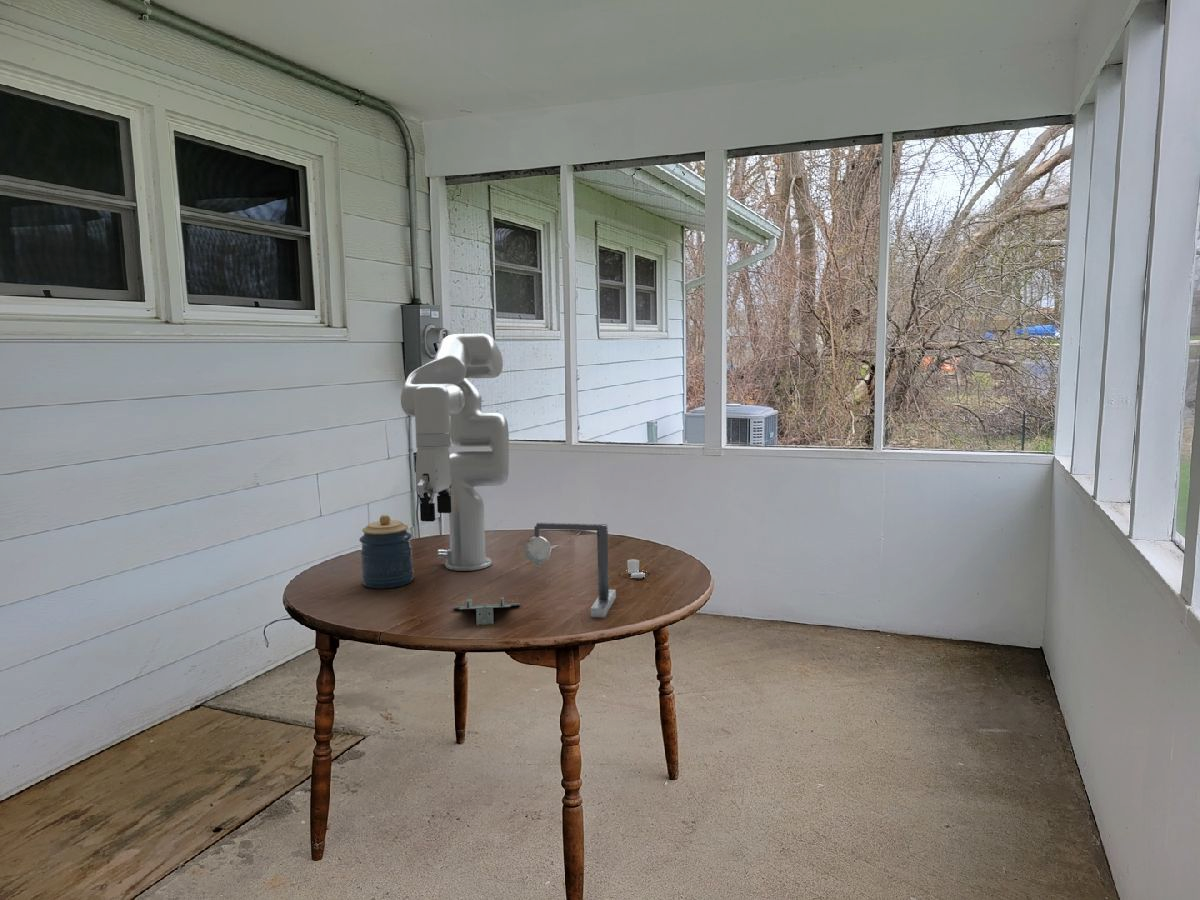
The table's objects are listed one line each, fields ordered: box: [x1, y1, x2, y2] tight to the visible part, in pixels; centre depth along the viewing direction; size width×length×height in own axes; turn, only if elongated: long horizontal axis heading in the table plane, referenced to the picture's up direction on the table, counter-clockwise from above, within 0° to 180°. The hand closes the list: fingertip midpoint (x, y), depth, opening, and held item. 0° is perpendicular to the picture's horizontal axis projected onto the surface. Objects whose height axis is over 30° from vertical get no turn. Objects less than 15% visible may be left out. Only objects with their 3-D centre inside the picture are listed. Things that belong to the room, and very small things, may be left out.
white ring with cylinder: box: [626, 558, 646, 579], centre depth 203 cm, size 9×8×4 cm
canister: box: [358, 514, 415, 589], centre depth 200 cm, size 13×13×18 cm
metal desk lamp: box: [523, 522, 617, 619], centre depth 178 cm, size 20×14×19 cm
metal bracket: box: [453, 596, 521, 626], centre depth 174 cm, size 14×6×15 cm
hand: (436, 516), depth 175 cm, fingers open, 9 cm apart
